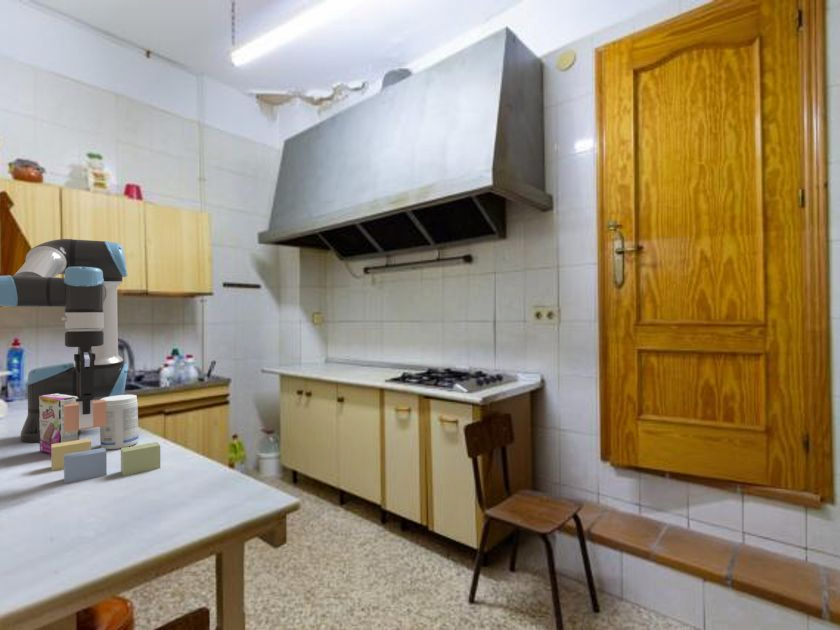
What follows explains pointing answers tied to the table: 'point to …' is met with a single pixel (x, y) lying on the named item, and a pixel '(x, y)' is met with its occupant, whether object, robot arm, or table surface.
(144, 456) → the olive brick
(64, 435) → the candy bar box
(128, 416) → the supplement tub
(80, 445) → the ochre brick
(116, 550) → the table surface
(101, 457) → the slate-blue brick
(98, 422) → the terracotta brick
